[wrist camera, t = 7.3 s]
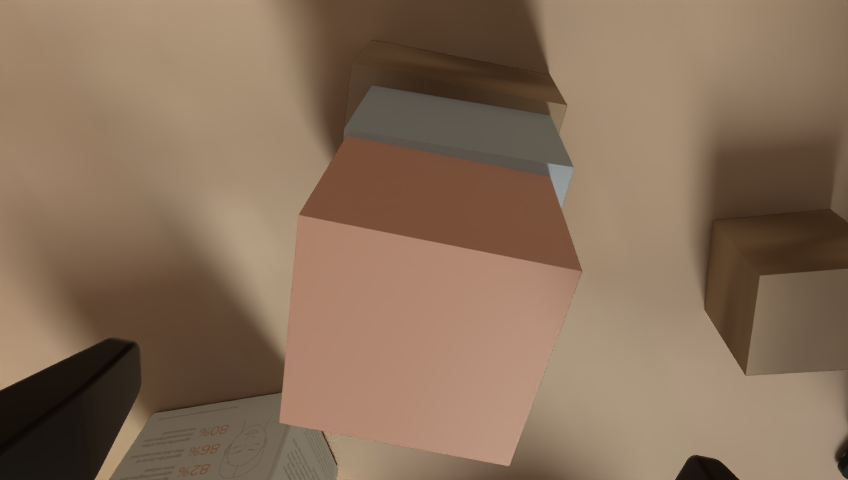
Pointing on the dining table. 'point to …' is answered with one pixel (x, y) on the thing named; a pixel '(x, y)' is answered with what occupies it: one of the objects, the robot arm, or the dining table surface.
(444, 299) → the terracotta cube
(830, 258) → the walnut block
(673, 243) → the dining table surface
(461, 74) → the walnut base block
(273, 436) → the small box
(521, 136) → the slate middle block
